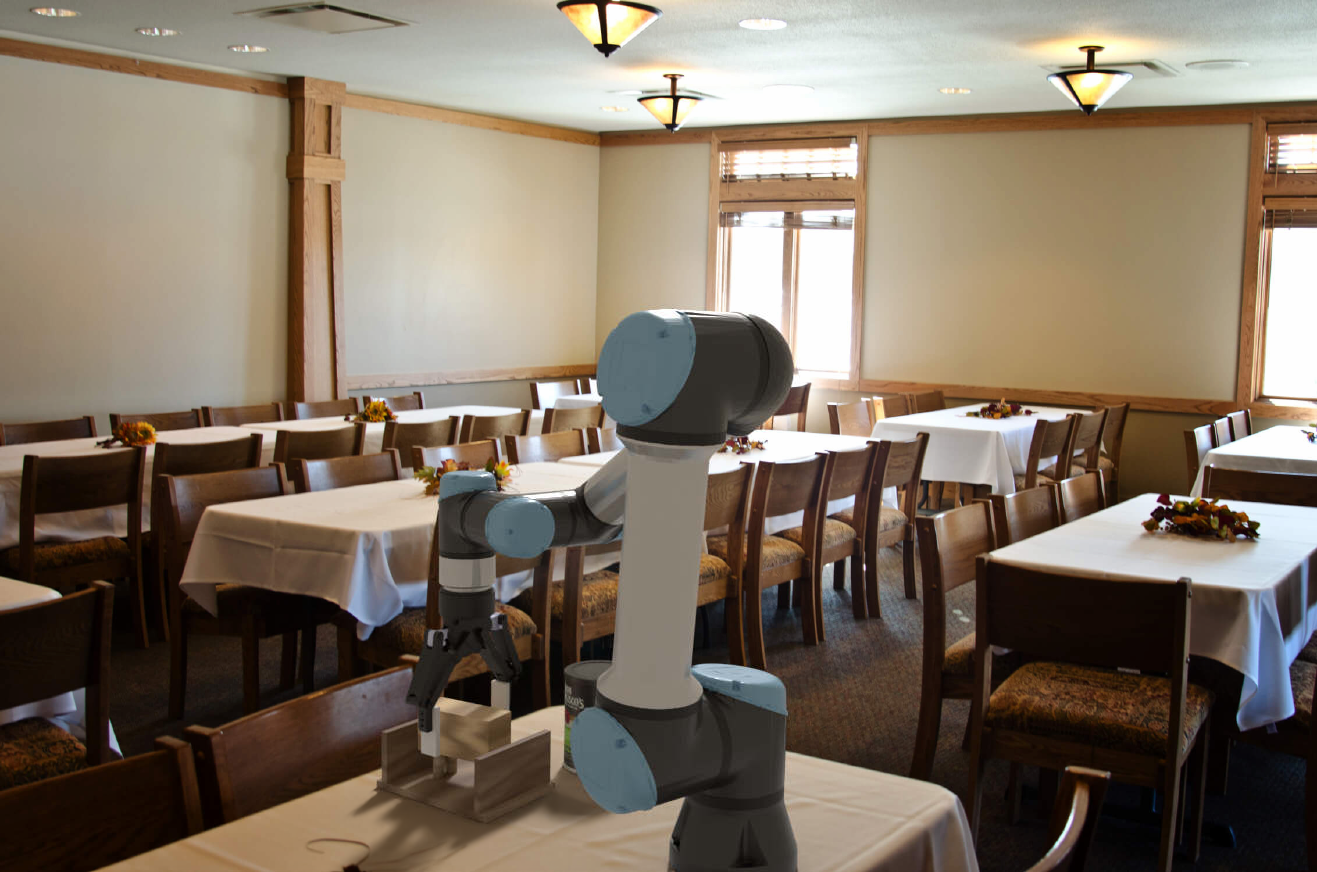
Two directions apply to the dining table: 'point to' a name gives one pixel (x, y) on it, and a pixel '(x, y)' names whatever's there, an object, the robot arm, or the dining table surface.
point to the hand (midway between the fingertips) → (466, 740)
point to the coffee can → (579, 697)
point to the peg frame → (467, 774)
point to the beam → (471, 729)
